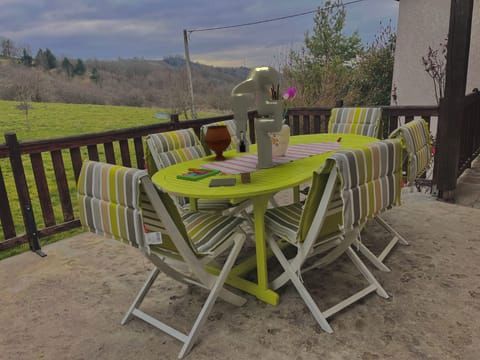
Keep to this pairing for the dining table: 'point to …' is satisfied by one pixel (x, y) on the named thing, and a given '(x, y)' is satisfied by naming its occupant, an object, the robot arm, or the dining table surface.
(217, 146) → the goblet
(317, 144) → the dining table surface
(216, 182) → the base plate
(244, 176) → the walnut cube
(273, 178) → the dining table surface
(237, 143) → the cream brick
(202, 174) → the jigsaw puzzle tray
